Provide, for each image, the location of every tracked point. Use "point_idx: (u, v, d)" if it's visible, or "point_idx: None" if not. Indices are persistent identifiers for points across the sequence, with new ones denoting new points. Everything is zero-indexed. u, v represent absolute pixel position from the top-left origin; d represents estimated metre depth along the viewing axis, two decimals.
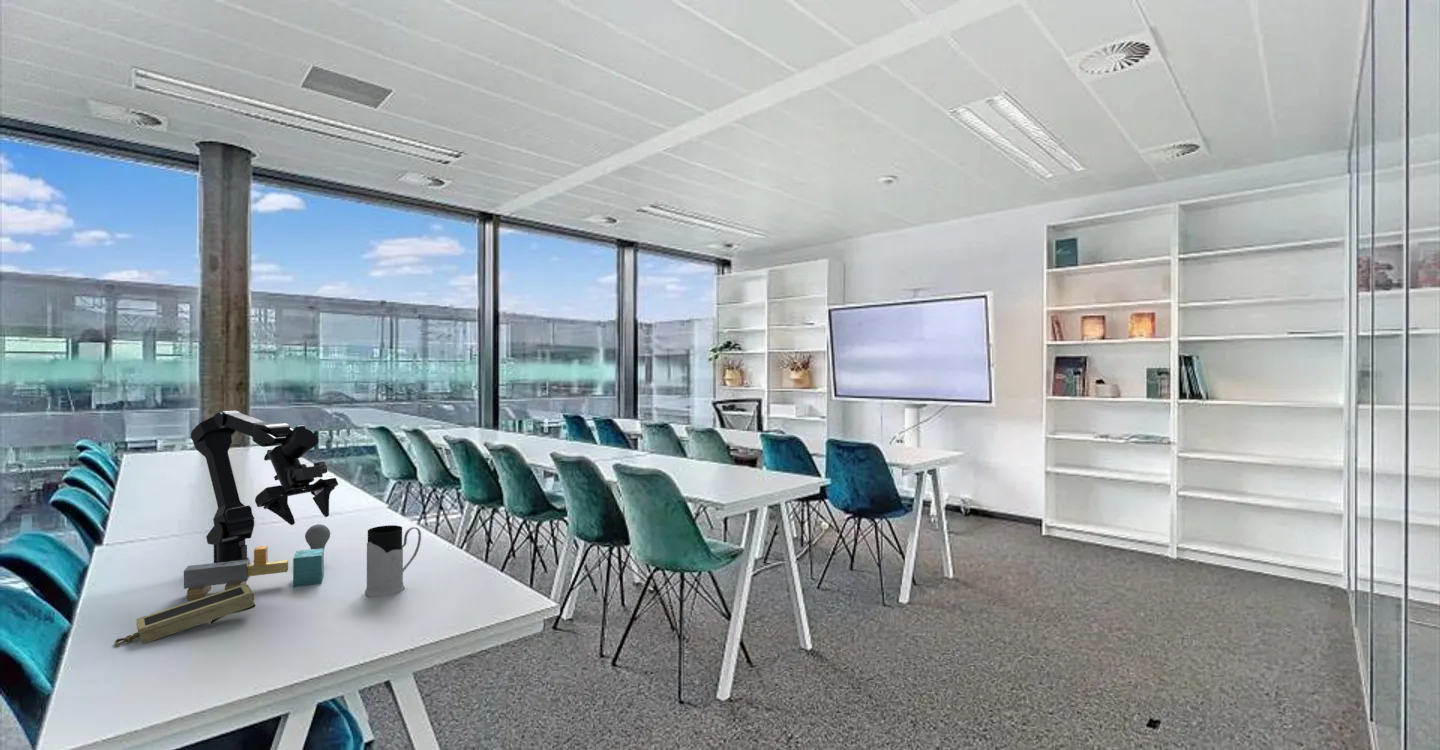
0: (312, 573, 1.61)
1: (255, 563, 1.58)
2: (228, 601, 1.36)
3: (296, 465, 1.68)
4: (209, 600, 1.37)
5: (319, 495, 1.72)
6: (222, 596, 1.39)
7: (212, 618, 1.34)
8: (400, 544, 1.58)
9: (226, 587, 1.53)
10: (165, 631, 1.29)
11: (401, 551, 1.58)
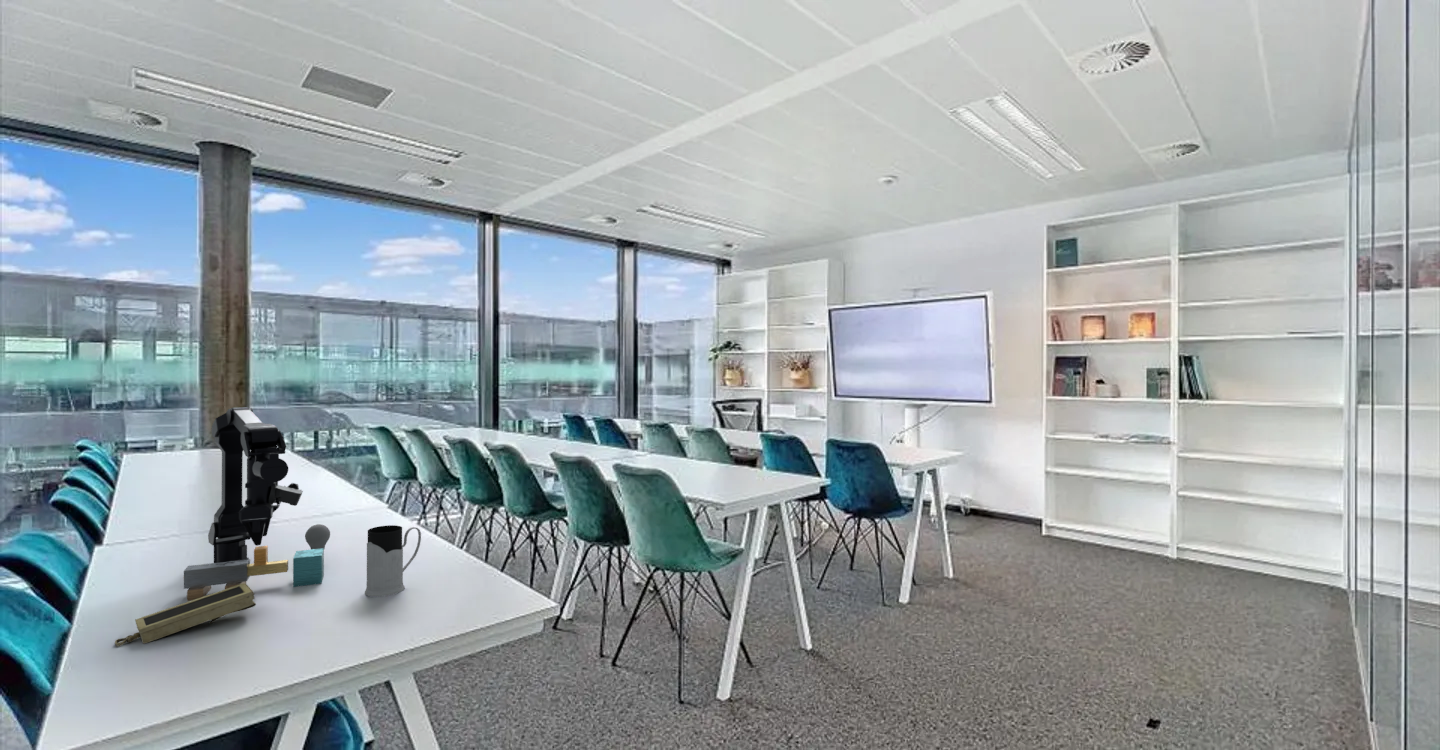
0: (312, 573, 1.61)
1: (255, 563, 1.58)
2: (229, 600, 1.37)
3: None
4: (209, 599, 1.38)
5: None
6: (221, 595, 1.39)
7: (213, 617, 1.35)
8: (400, 544, 1.58)
9: (226, 587, 1.53)
10: (167, 631, 1.30)
11: (401, 551, 1.58)
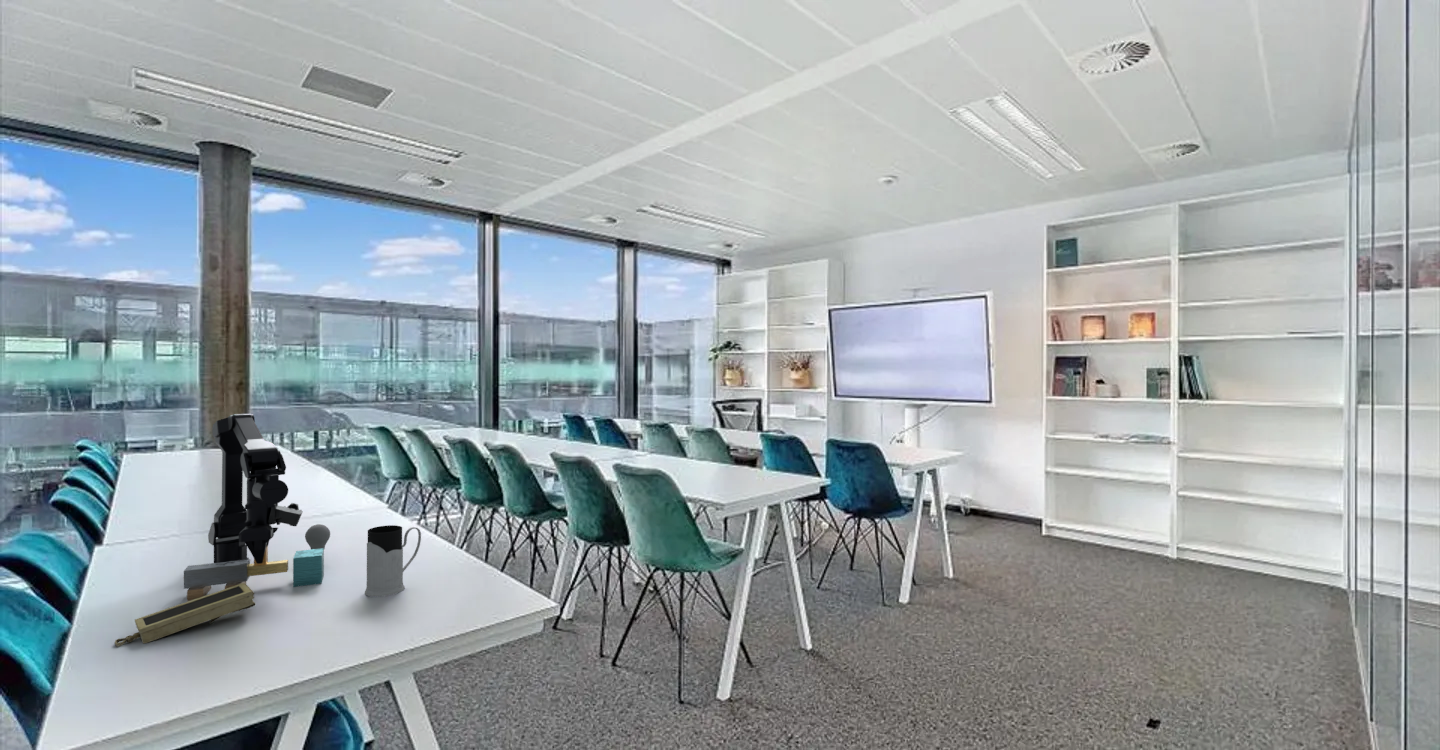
0: (312, 573, 1.61)
1: (255, 563, 1.58)
2: (229, 600, 1.37)
3: None
4: (208, 599, 1.38)
5: None
6: (221, 595, 1.39)
7: (213, 617, 1.35)
8: (400, 544, 1.58)
9: (226, 587, 1.53)
10: (167, 631, 1.30)
11: (401, 551, 1.58)
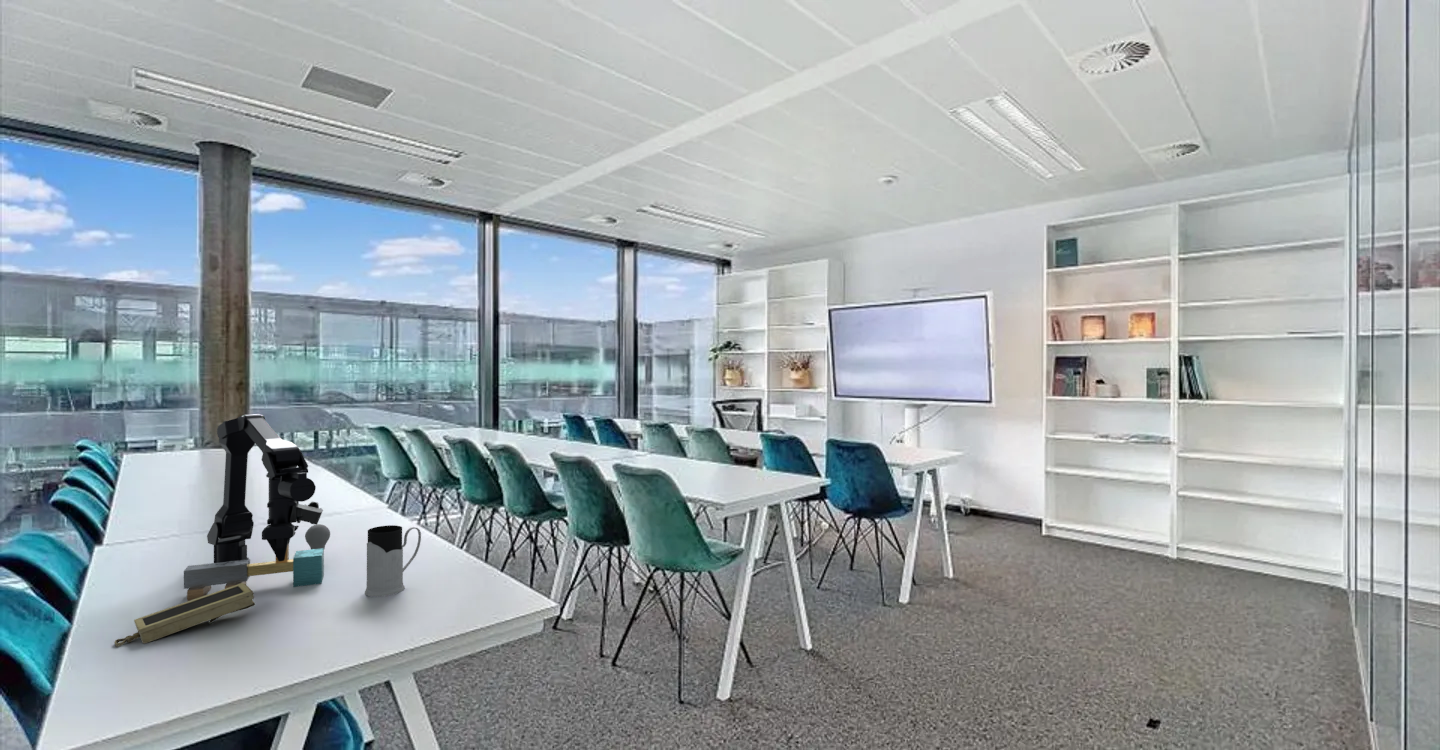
0: (312, 573, 1.61)
1: (277, 561, 1.60)
2: (228, 600, 1.37)
3: None
4: (208, 599, 1.38)
5: None
6: (221, 595, 1.39)
7: (212, 617, 1.35)
8: (400, 544, 1.58)
9: (226, 587, 1.53)
10: (166, 631, 1.30)
11: (401, 551, 1.58)
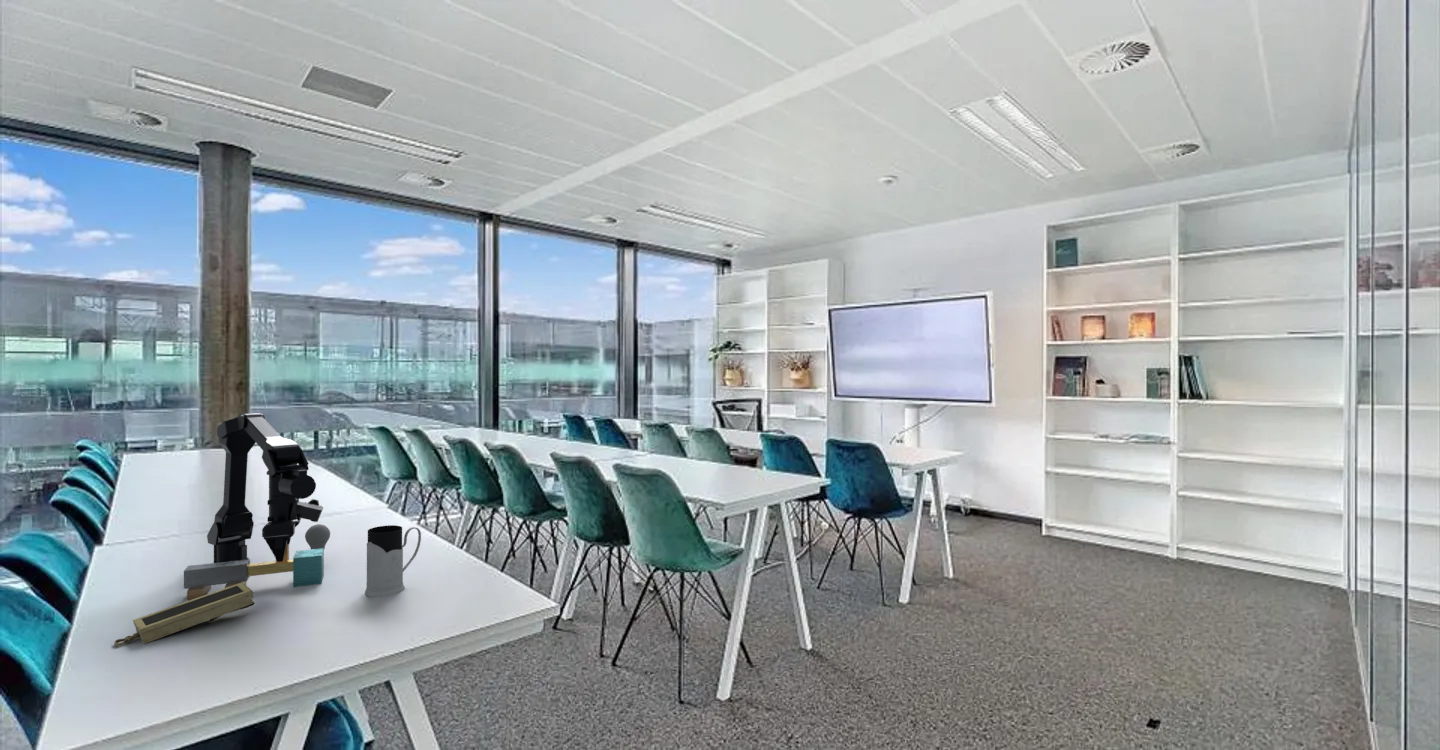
0: (312, 573, 1.61)
1: None
2: (228, 599, 1.37)
3: None
4: (207, 599, 1.38)
5: None
6: (220, 595, 1.39)
7: (212, 616, 1.35)
8: (400, 544, 1.58)
9: (226, 587, 1.53)
10: (167, 631, 1.30)
11: (401, 551, 1.58)
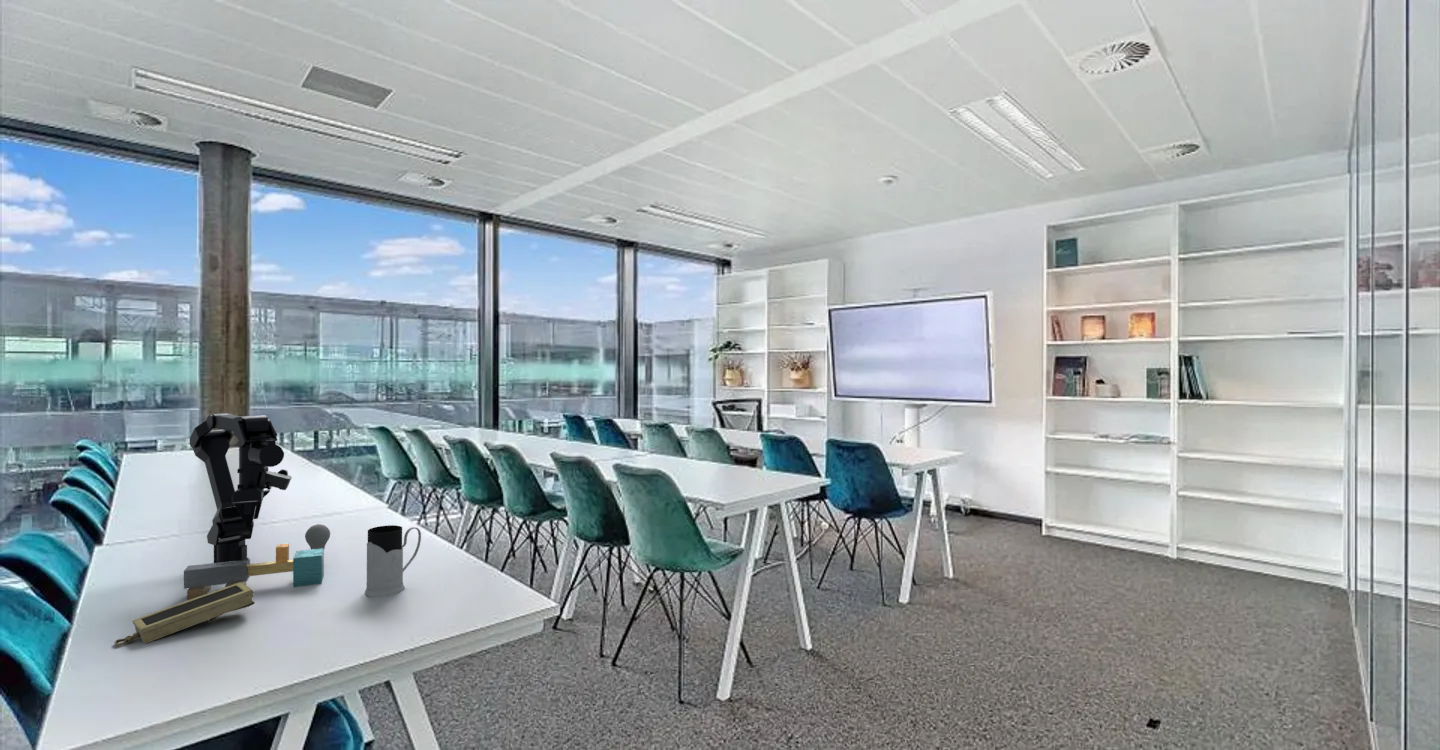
0: (312, 573, 1.61)
1: (277, 561, 1.60)
2: (228, 599, 1.37)
3: (265, 466, 1.72)
4: (207, 599, 1.38)
5: None
6: (219, 594, 1.40)
7: (213, 616, 1.35)
8: (400, 544, 1.58)
9: None
10: (167, 630, 1.30)
11: (401, 551, 1.58)
